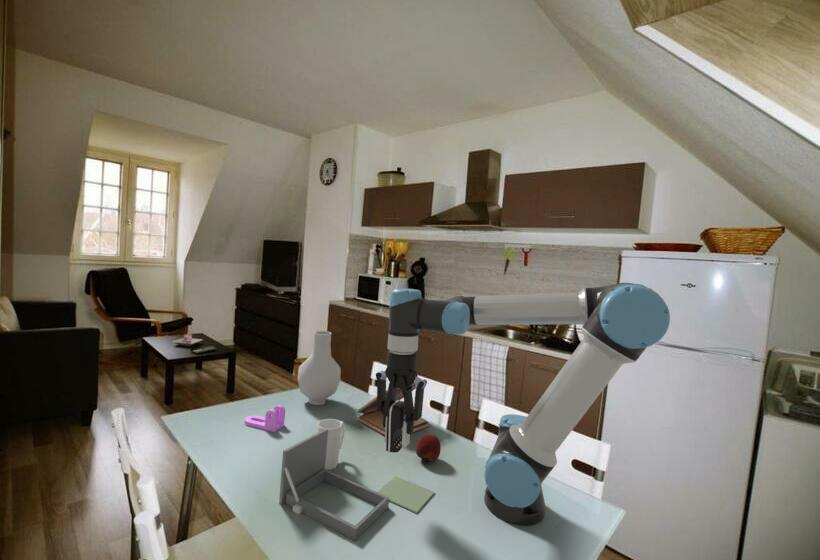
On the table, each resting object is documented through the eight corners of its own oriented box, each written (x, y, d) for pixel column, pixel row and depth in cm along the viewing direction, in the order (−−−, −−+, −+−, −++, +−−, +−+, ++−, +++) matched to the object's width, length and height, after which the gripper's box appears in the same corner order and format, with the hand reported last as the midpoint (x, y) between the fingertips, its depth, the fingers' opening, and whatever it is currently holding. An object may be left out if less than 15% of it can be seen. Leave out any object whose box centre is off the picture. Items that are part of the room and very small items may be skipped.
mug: (327, 473, 109) (330, 431, 108) (309, 465, 112) (312, 424, 111) (350, 459, 117) (354, 420, 117) (333, 451, 121) (336, 413, 120)
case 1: (390, 505, 98) (394, 455, 97) (352, 543, 84) (357, 484, 83) (322, 474, 108) (325, 428, 107) (278, 503, 95) (282, 450, 94)
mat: (434, 493, 104) (434, 491, 104) (416, 513, 96) (416, 512, 96) (395, 477, 110) (395, 476, 110) (375, 495, 101) (375, 493, 101)
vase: (288, 406, 151) (293, 333, 149) (306, 392, 167) (311, 326, 165) (329, 413, 148) (335, 339, 146) (344, 397, 164) (349, 331, 163)
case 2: (393, 407, 160) (397, 368, 159) (432, 426, 146) (436, 383, 145) (353, 419, 146) (356, 377, 144) (392, 442, 131) (396, 395, 130)
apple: (444, 461, 121) (447, 436, 121) (428, 469, 116) (430, 443, 115) (426, 451, 126) (428, 427, 126) (409, 459, 121) (412, 433, 120)
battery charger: (399, 455, 96) (401, 408, 95) (385, 452, 97) (387, 406, 97) (409, 443, 102) (410, 399, 102) (395, 441, 104) (397, 397, 103)
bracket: (284, 425, 135) (285, 406, 134) (274, 432, 130) (275, 411, 129) (251, 418, 138) (253, 398, 138) (240, 424, 133) (242, 404, 133)
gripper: (440, 353, 98) (434, 445, 99) (380, 343, 105) (375, 429, 107) (428, 359, 91) (421, 458, 92) (364, 348, 99) (359, 439, 100)
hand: (397, 442), depth 100 cm, fingers closed on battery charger, 4 cm apart
